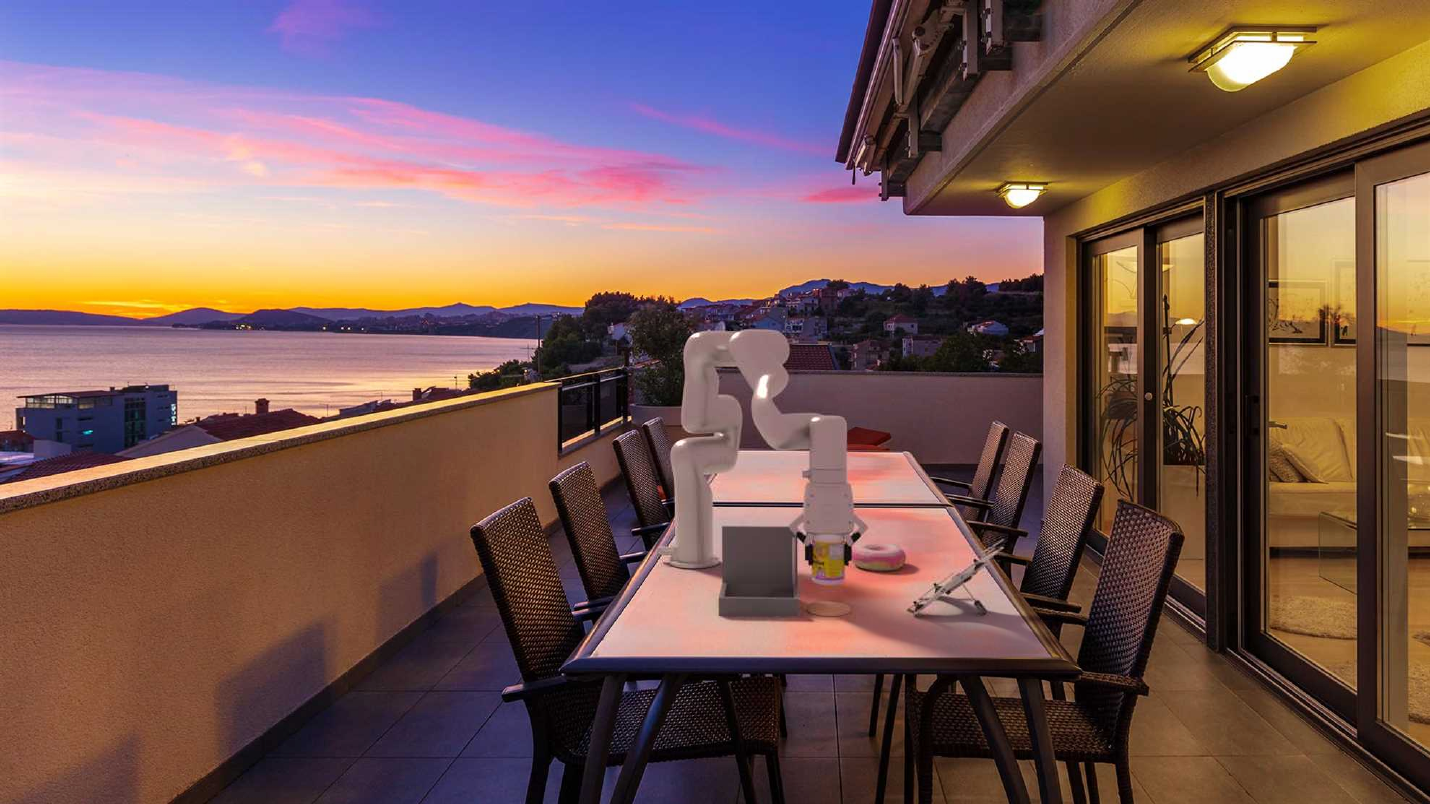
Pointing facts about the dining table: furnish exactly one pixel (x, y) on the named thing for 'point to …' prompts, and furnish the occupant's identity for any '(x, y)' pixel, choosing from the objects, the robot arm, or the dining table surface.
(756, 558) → the case
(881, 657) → the dining table surface
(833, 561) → the supplement bottle
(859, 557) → the donut
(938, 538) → the dining table surface
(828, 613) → the pad
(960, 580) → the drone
